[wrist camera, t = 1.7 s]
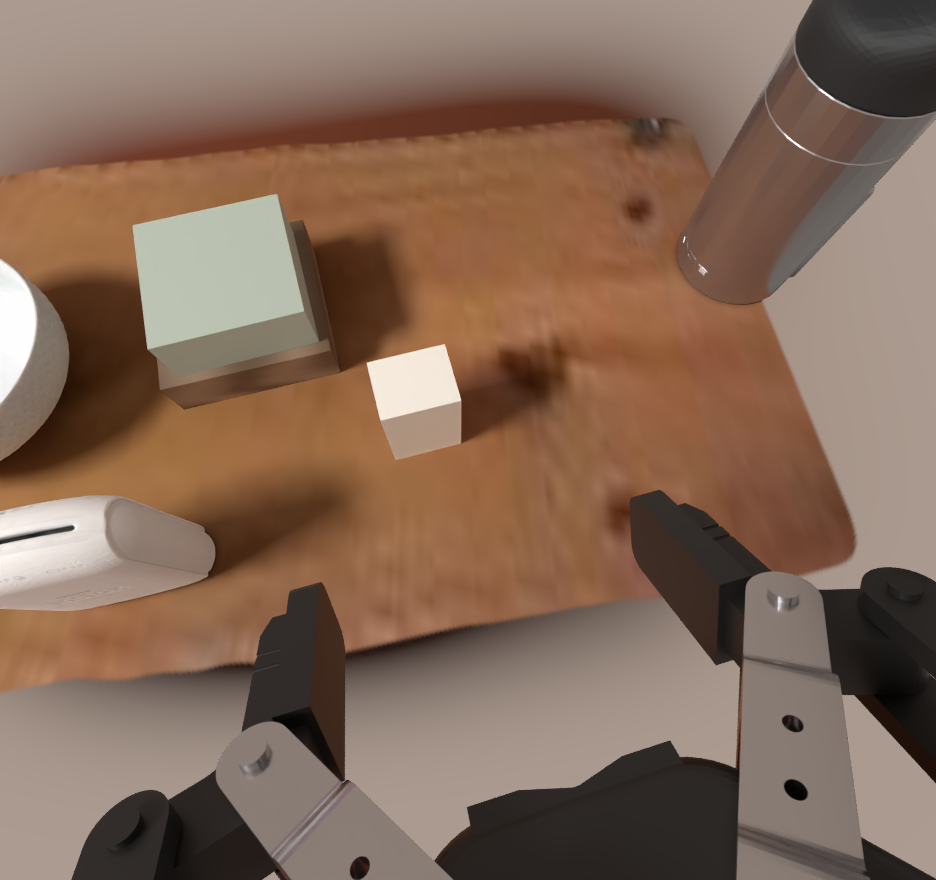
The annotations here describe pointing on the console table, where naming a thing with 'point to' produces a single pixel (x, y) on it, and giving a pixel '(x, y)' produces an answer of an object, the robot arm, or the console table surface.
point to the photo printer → (96, 553)
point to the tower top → (222, 286)
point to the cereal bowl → (28, 359)
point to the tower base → (270, 367)
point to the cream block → (417, 401)
